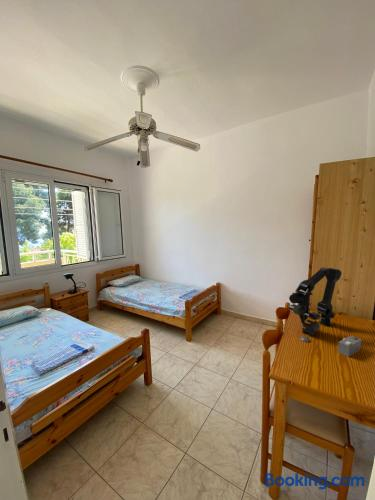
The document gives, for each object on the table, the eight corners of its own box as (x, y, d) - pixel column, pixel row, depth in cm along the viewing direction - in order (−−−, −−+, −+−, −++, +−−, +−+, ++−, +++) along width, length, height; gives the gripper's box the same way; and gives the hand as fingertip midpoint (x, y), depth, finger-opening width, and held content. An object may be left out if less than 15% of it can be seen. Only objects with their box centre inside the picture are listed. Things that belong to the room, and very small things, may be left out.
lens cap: (303, 337, 129) (303, 335, 128) (311, 341, 124) (311, 339, 124) (298, 339, 126) (298, 337, 126) (306, 343, 122) (306, 341, 122)
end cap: (313, 337, 127) (315, 327, 126) (301, 332, 132) (302, 323, 131) (319, 331, 134) (320, 322, 132) (307, 327, 139) (308, 318, 138)
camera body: (349, 344, 120) (350, 333, 119) (360, 349, 115) (361, 338, 114) (336, 351, 114) (337, 339, 113) (348, 356, 109) (349, 345, 108)
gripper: (283, 298, 139) (282, 320, 142) (311, 309, 123) (308, 333, 125) (294, 296, 144) (293, 316, 147) (321, 305, 128) (319, 328, 130)
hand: (302, 323), depth 137 cm, fingers closed
